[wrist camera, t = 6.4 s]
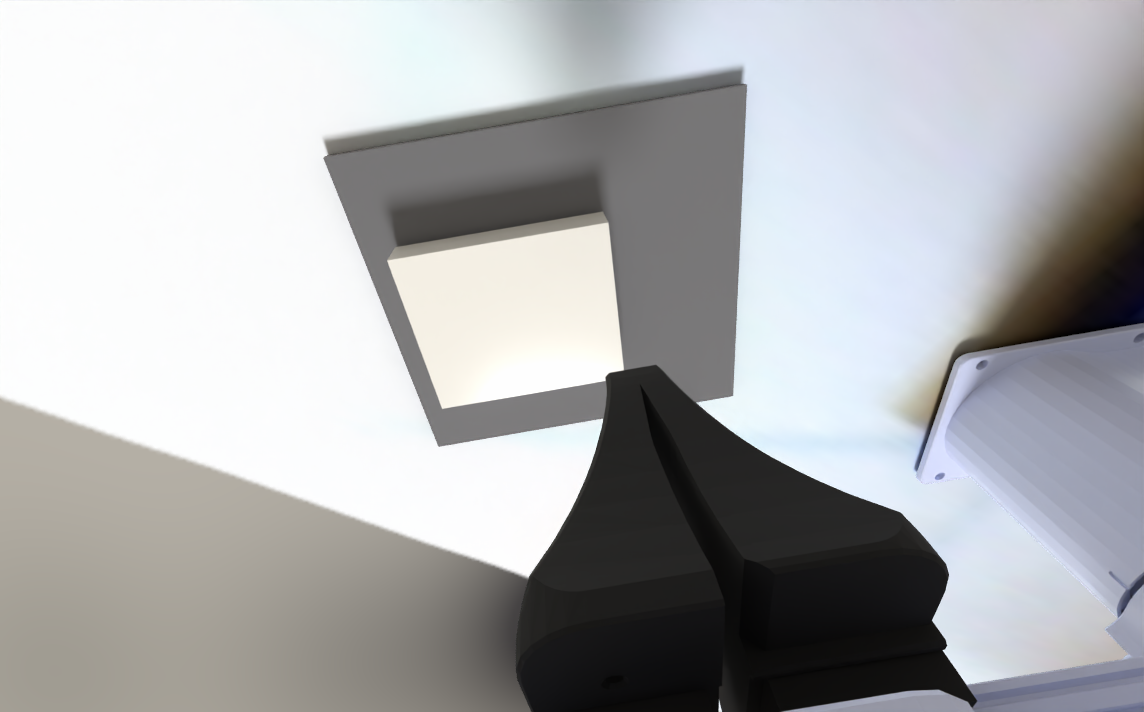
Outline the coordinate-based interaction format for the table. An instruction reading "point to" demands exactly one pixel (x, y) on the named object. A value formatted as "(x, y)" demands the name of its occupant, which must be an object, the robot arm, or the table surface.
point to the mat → (566, 189)
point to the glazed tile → (513, 308)
